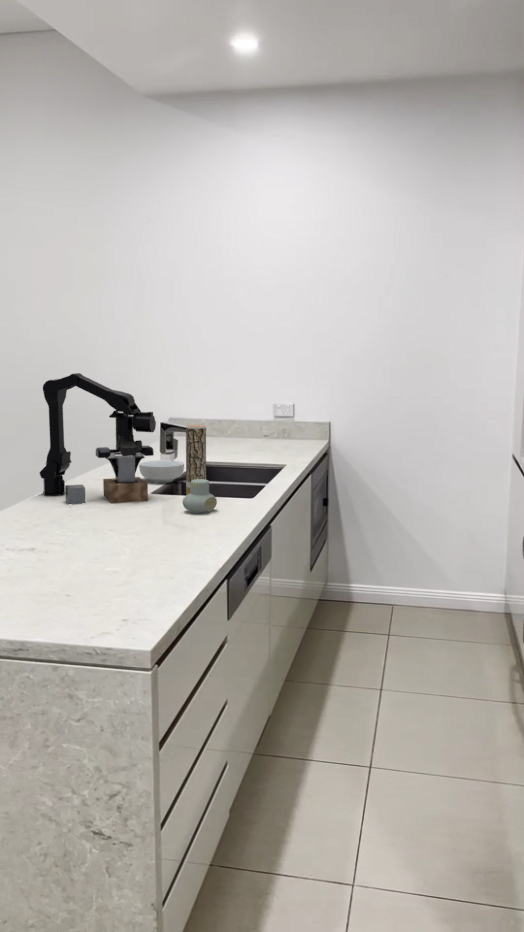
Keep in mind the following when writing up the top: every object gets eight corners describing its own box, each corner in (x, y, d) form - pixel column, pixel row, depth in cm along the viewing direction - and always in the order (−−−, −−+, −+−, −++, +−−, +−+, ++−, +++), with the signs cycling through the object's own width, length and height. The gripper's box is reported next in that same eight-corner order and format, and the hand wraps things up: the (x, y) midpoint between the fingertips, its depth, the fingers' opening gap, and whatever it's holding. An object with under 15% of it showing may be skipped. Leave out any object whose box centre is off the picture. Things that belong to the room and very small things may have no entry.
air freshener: (199, 506, 264) (199, 476, 263) (220, 510, 260) (220, 479, 258) (179, 513, 255) (178, 481, 253) (200, 516, 251) (200, 484, 249)
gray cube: (68, 504, 265) (67, 488, 264) (65, 501, 270) (65, 485, 269) (85, 503, 267) (85, 487, 266) (82, 500, 272) (82, 484, 271)
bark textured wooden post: (202, 500, 274) (203, 427, 270) (183, 499, 275) (183, 426, 271) (208, 496, 280) (208, 425, 276) (189, 495, 282) (189, 424, 277)
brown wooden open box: (110, 503, 268) (110, 485, 266) (103, 495, 279) (103, 478, 278) (147, 500, 272) (147, 483, 271) (139, 493, 284) (139, 476, 283)
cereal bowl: (188, 477, 315) (188, 460, 314) (179, 486, 299) (179, 467, 297) (145, 476, 317) (145, 458, 315) (134, 484, 300) (134, 465, 299)
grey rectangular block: (118, 487, 271) (118, 458, 269) (115, 484, 276) (114, 455, 275) (135, 486, 273) (134, 457, 272) (131, 483, 278) (131, 455, 277)
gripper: (101, 435, 261) (102, 482, 263) (157, 433, 268) (157, 479, 270) (94, 431, 271) (95, 476, 274) (149, 429, 278) (149, 473, 281)
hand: (125, 476), depth 274 cm, fingers closed on grey rectangular block, 5 cm apart
